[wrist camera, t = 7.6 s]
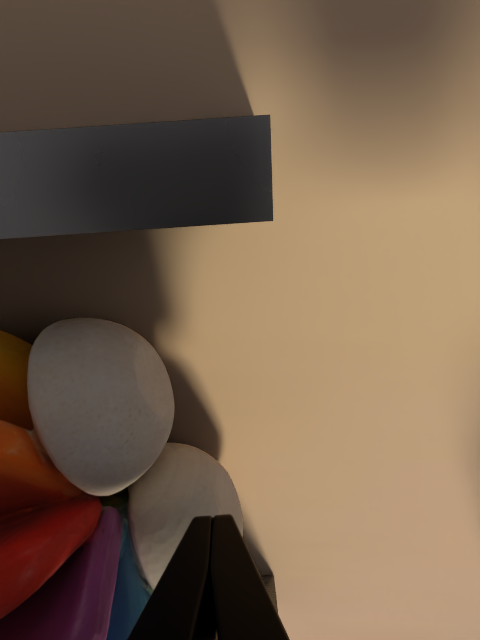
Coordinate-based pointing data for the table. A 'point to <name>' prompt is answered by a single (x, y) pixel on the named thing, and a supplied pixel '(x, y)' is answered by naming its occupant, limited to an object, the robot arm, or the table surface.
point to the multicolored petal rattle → (92, 481)
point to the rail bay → (136, 180)
